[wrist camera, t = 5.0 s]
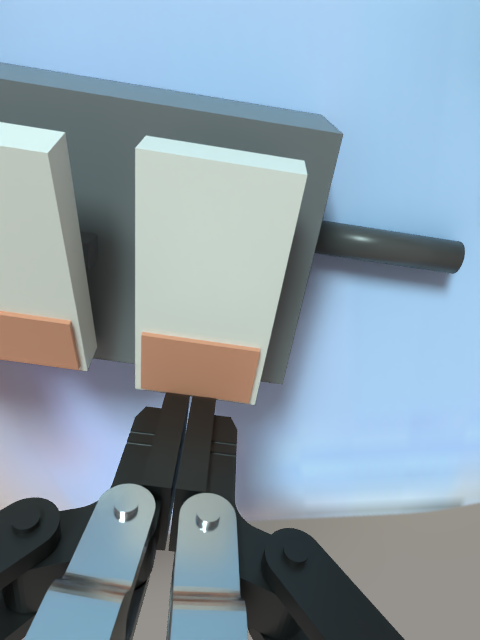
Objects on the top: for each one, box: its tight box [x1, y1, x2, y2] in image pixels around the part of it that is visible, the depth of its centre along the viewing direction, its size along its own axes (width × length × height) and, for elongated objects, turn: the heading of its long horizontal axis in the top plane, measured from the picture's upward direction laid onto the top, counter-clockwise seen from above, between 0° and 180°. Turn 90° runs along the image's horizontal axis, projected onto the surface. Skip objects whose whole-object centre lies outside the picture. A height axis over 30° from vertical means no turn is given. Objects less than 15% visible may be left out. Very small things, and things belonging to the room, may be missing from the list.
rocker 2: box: [135, 136, 307, 405], centre depth 12 cm, size 4×7×1 cm, turn 172°
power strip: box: [0, 63, 465, 384], centre depth 15 cm, size 22×8×5 cm, turn 82°
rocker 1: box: [0, 122, 97, 371], centre depth 12 cm, size 4×7×1 cm, turn 172°
